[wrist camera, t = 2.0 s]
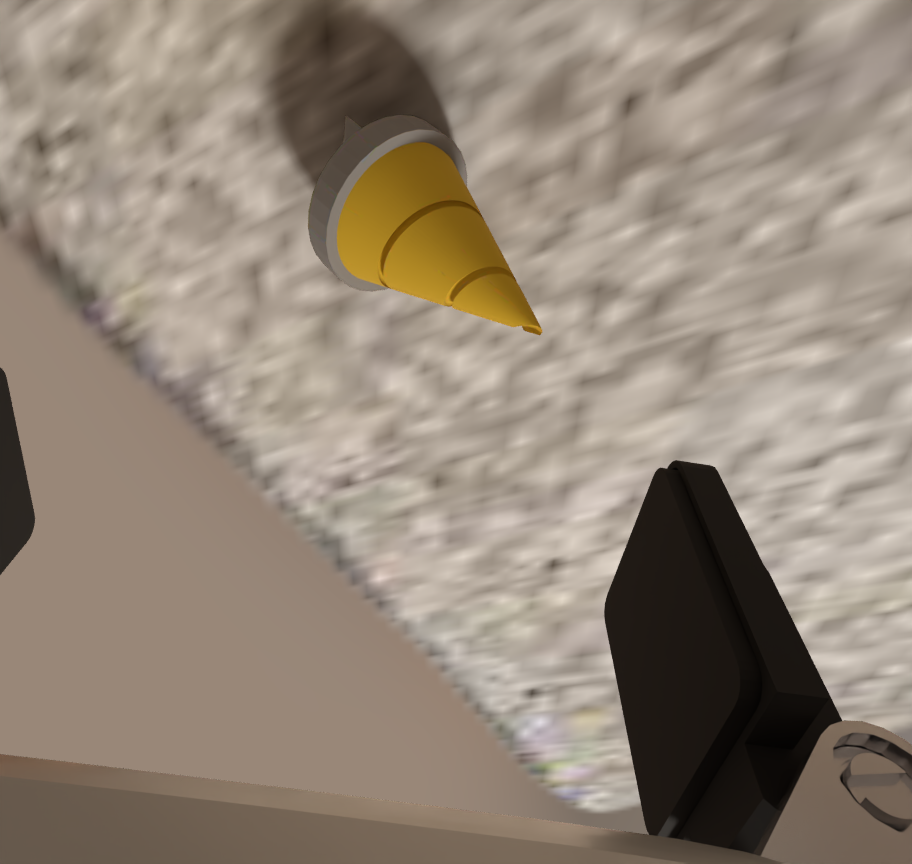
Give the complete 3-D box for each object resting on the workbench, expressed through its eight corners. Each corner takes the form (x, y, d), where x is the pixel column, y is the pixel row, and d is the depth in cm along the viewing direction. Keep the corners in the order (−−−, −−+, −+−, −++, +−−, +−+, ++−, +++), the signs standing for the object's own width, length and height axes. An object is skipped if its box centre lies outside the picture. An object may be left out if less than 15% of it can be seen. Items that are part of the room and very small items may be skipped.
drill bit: (385, 46, 22) (625, 206, 17) (404, 188, 26) (598, 344, 22) (235, 119, 20) (460, 316, 16) (283, 257, 25) (467, 441, 20)
